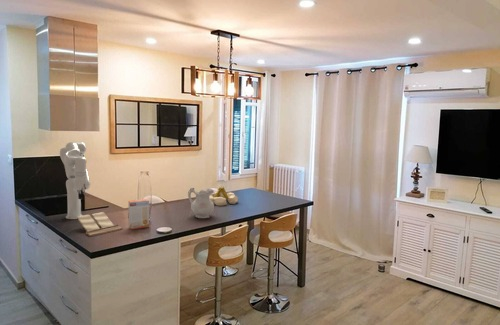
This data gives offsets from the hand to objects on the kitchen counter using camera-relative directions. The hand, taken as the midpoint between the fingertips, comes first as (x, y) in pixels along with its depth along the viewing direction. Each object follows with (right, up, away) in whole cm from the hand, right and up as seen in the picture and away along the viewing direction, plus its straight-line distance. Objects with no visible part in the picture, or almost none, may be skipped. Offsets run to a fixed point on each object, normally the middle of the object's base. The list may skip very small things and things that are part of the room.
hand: (81, 198), depth 270 cm
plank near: (+7, -18, -4) cm, 20 cm away
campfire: (+94, -13, +98) cm, 137 cm away
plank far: (+14, -17, +4) cm, 23 cm away
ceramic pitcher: (+83, -19, +42) cm, 95 cm away
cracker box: (+41, -22, +5) cm, 47 cm away
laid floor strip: (+20, -23, -8) cm, 32 cm away
